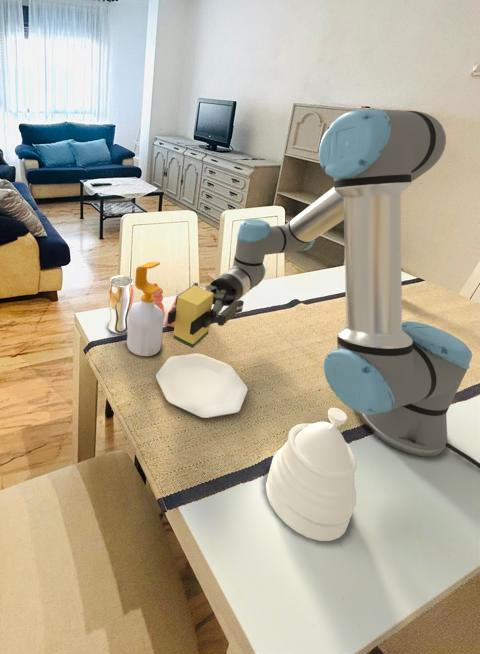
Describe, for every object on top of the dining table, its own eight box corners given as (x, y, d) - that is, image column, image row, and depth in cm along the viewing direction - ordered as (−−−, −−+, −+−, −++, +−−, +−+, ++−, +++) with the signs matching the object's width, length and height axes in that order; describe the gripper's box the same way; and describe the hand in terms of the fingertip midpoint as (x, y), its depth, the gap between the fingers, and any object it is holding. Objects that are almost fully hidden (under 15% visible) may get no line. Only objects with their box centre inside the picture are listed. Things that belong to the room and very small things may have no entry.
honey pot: (289, 453, 74) (311, 378, 67) (361, 507, 65) (394, 427, 58) (251, 492, 66) (271, 412, 60) (326, 560, 57) (359, 474, 50)
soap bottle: (146, 362, 97) (154, 274, 88) (119, 345, 102) (124, 262, 93) (167, 346, 103) (176, 263, 94) (141, 332, 108) (147, 252, 100)
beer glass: (128, 336, 106) (132, 288, 101) (104, 332, 107) (106, 285, 102) (133, 322, 113) (136, 277, 107) (110, 319, 114) (112, 273, 108)
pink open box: (203, 316, 118) (207, 288, 114) (197, 333, 109) (201, 303, 106) (147, 303, 123) (149, 275, 120) (137, 318, 115) (140, 289, 112)
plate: (261, 412, 83) (263, 407, 82) (176, 427, 78) (177, 422, 78) (218, 354, 101) (219, 350, 100) (147, 364, 96) (147, 359, 95)
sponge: (208, 334, 89) (213, 293, 85) (192, 348, 84) (197, 305, 80) (189, 325, 92) (194, 285, 88) (173, 338, 87) (177, 296, 83)
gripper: (260, 313, 95) (215, 357, 78) (197, 288, 106) (145, 321, 89) (266, 286, 92) (221, 325, 75) (200, 263, 103) (148, 293, 86)
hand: (180, 323), depth 82 cm, fingers closed on sponge, 5 cm apart
